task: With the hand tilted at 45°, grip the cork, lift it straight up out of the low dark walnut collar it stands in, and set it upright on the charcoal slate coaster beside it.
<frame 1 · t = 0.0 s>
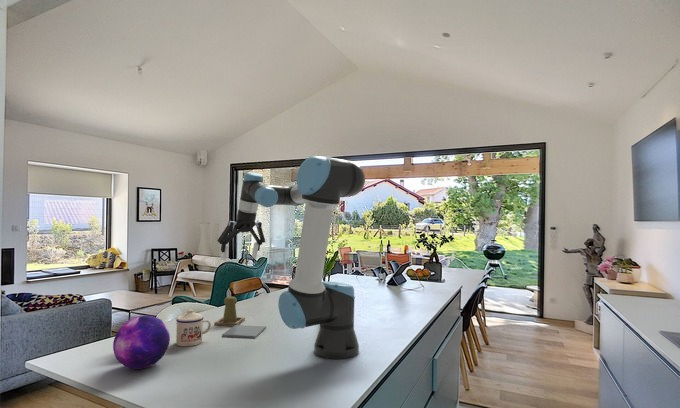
hand: (239, 258, 160), 28 cm above the kitchen island, tool tilted 20°, fingers open, 13 cm apart
walnut collar: (229, 322, 163), on the kitchen island
decorative orb: (141, 367, 114), on the kitchen island
slate coaster: (244, 332, 149), on the kitchen island
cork: (229, 323, 163), resting in walnut collar
flower pot: (145, 350, 128), on the kitchen island
teacup with lid: (193, 342, 137), on the kitchen island
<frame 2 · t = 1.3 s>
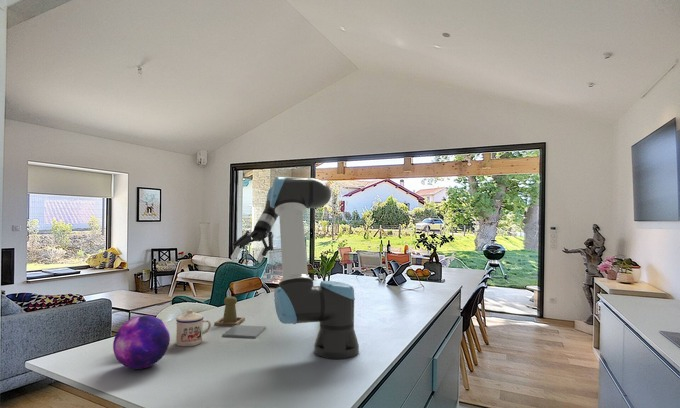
hand: (245, 260, 168), 26 cm above the kitchen island, tool tilted 45°, fingers open, 13 cm apart
nothing on the kitchen island moved.
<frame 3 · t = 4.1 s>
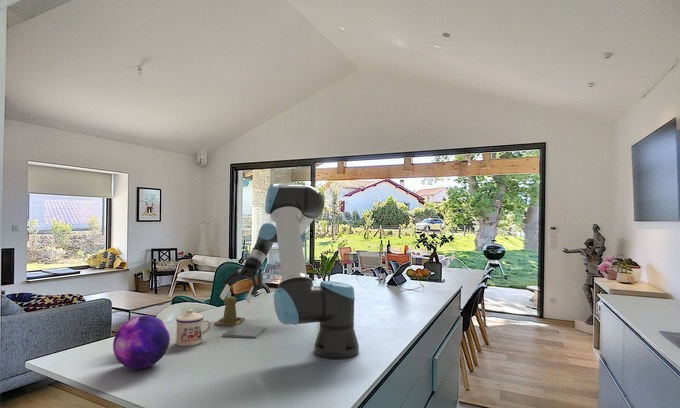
hand: (234, 299, 167), 9 cm above the kitchen island, tool tilted 45°, fingers open, 13 cm apart
nothing on the kitchen island moved.
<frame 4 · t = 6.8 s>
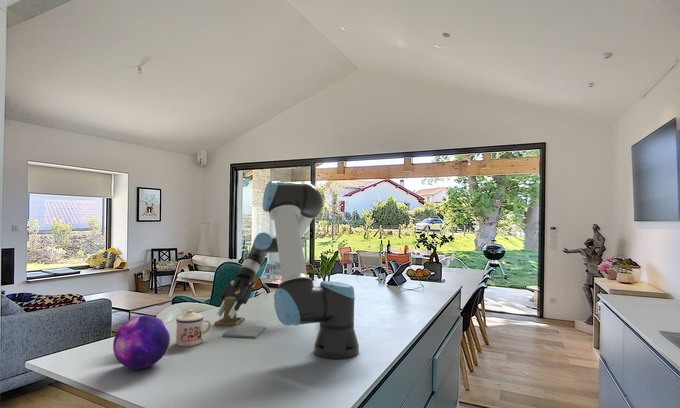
hand: (224, 315, 159), 4 cm above the kitchen island, tool tilted 45°, fingers closed on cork, 5 cm apart
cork: (229, 323, 163), resting in walnut collar, touching gripper
everything else where it was.
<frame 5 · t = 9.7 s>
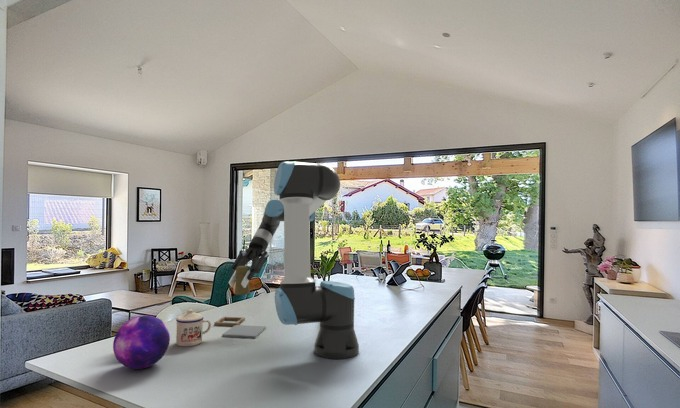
hand: (236, 285, 150), 18 cm above the kitchen island, tool tilted 45°, fingers closed on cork, 5 cm apart
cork: (242, 293, 154), point 14 cm above the kitchen island, touching gripper
everything else where it was.
when the fingers open (6 cm above the kitchen island, at t = 13.1 s): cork drops 1 cm, resting on slate coaster.
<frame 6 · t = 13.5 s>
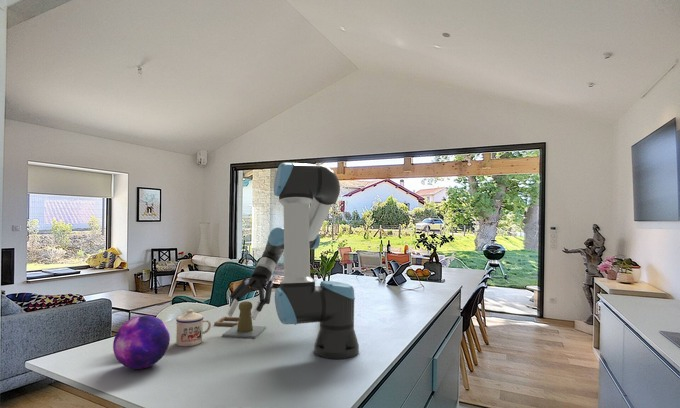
hand: (240, 316, 147), 7 cm above the kitchen island, tool tilted 45°, fingers open, 10 cm apart
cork: (245, 330, 150), point 1 cm above the kitchen island, touching slate coaster
everything else where it was.
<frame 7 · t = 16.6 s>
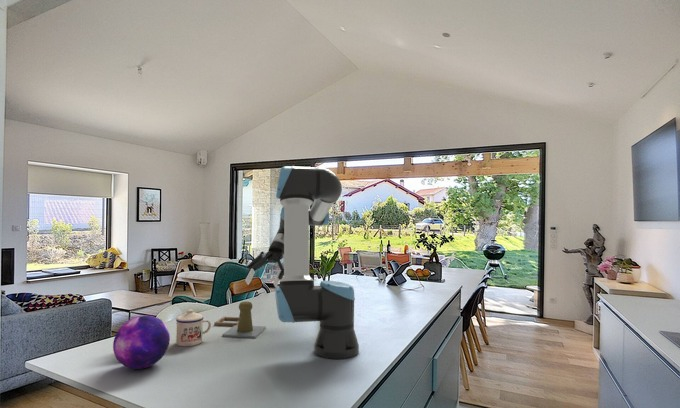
hand: (260, 283, 160), 17 cm above the kitchen island, tool tilted 45°, fingers open, 13 cm apart
nothing on the kitchen island moved.
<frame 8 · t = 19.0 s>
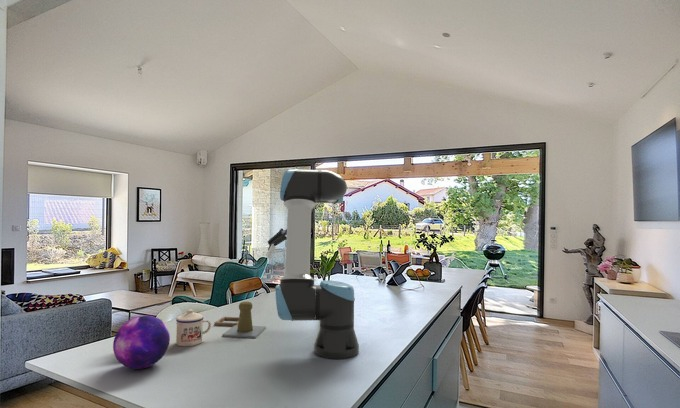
hand: (281, 257, 167), 28 cm above the kitchen island, tool tilted 45°, fingers open, 13 cm apart
nothing on the kitchen island moved.
at the end: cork inside the target area on the slate coaster (0.1 cm from its centre), point 0.6 cm above the slate coaster's base; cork tilted 0°; the gripper is holding nothing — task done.
